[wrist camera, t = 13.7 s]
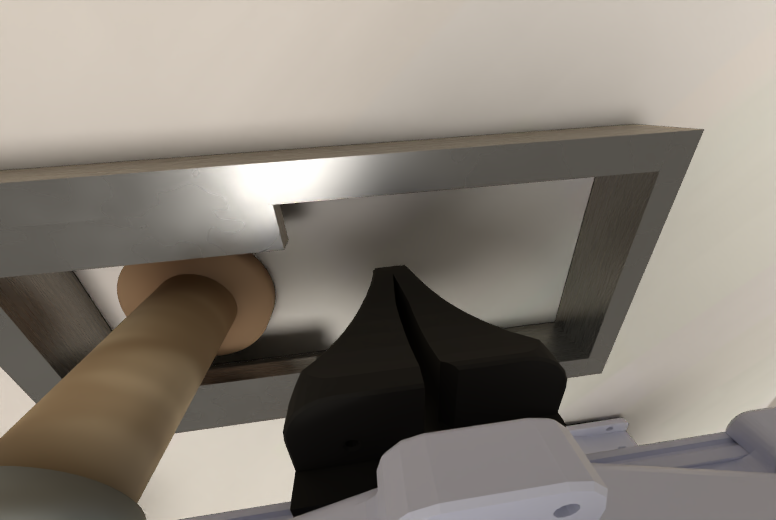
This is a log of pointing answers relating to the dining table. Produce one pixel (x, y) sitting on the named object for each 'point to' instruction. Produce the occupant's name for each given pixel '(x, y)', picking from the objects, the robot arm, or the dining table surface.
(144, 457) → the peg
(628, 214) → the keyhole plate
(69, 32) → the dining table surface
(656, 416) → the dining table surface
